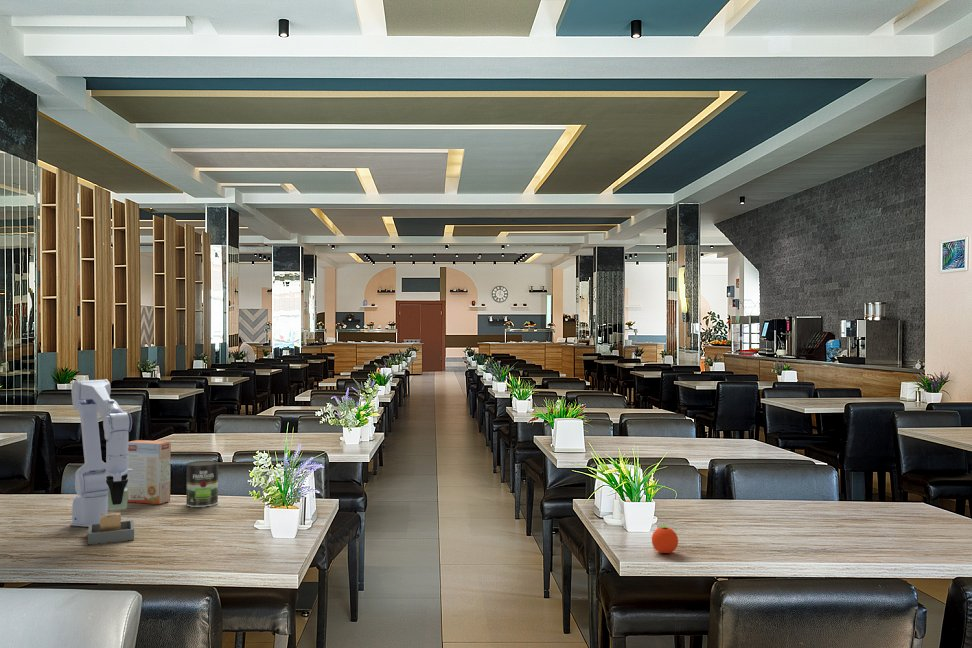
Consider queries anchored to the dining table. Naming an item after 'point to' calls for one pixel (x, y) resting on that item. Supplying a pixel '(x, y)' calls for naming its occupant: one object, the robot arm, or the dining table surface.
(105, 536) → the tote
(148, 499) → the cracker box
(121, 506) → the light box
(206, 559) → the dining table surface
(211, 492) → the coffee can
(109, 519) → the brown box
